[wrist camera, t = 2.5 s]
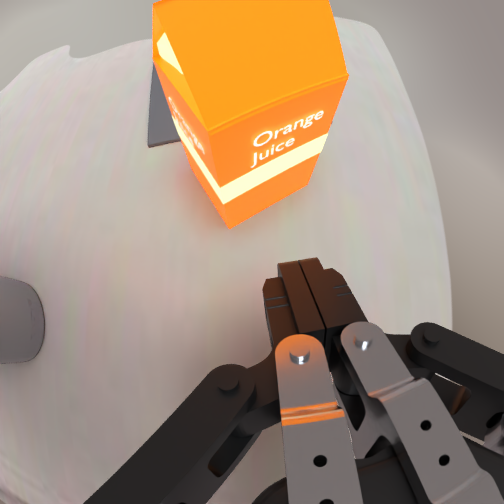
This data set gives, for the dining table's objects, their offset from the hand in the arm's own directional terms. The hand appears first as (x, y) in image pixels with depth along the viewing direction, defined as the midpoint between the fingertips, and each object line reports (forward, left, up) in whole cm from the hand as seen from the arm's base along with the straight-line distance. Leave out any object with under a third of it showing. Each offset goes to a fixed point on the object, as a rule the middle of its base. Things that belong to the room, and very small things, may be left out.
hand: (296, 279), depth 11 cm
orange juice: (0, +12, -14) cm, 19 cm away
